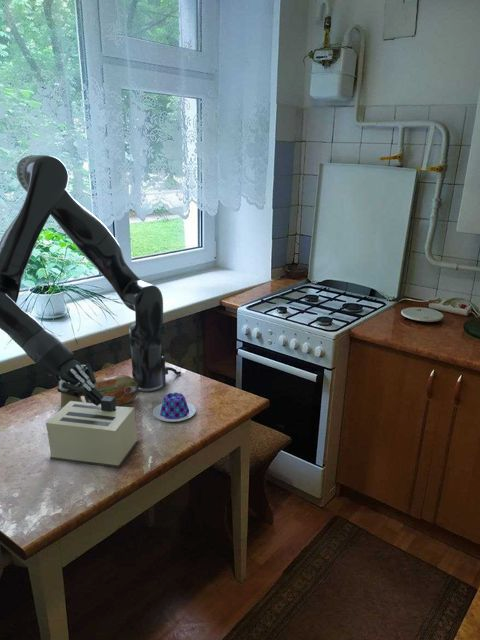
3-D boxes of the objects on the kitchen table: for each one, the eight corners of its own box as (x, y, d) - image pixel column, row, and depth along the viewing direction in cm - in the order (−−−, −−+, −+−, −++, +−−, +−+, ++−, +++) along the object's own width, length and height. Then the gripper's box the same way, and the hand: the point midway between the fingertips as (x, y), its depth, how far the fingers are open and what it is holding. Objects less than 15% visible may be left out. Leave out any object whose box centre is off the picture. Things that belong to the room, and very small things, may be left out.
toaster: (77, 431, 130) (72, 397, 126) (140, 438, 128) (137, 404, 124) (50, 459, 118) (44, 422, 114) (119, 468, 116) (115, 431, 112)
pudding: (148, 407, 143) (147, 391, 141) (187, 399, 148) (187, 384, 146) (160, 427, 133) (159, 410, 131) (202, 418, 138) (201, 401, 136)
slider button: (105, 405, 123) (104, 395, 121) (115, 406, 122) (114, 396, 121) (101, 410, 120) (100, 400, 119) (111, 411, 120) (110, 401, 119)
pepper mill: (86, 402, 144) (82, 368, 140) (77, 413, 139) (73, 377, 135) (66, 401, 145) (62, 367, 141) (56, 411, 139) (51, 376, 135)
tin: (86, 411, 140) (83, 385, 136) (84, 406, 142) (81, 380, 139) (139, 401, 146) (137, 375, 143) (136, 397, 149) (135, 371, 146)
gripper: (41, 352, 111) (97, 407, 114) (71, 333, 123) (121, 382, 126) (22, 372, 113) (78, 424, 116) (54, 350, 125) (104, 398, 128)
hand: (101, 402), depth 121 cm, fingers closed
